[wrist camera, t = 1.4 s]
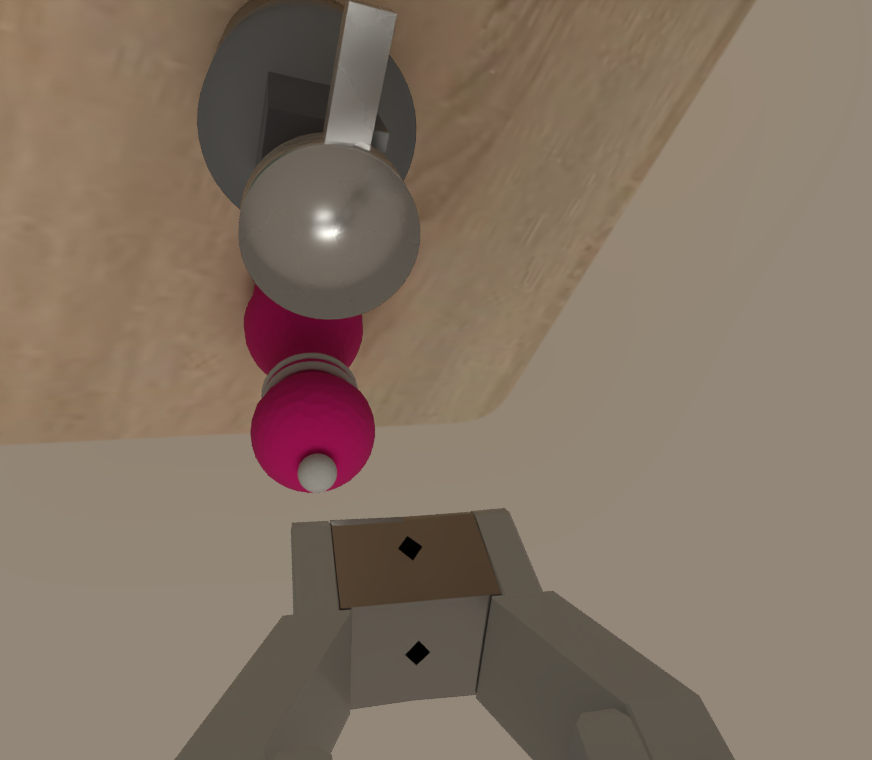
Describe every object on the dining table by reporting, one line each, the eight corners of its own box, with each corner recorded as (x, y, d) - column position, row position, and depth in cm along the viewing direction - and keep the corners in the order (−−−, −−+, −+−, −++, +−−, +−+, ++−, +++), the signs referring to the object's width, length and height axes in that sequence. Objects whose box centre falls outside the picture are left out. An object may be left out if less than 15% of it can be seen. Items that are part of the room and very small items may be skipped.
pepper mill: (278, 225, 48) (284, 391, 31) (375, 278, 51) (429, 454, 34) (226, 316, 50) (205, 516, 33) (321, 361, 53) (347, 564, 36)
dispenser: (226, -33, 40) (194, 2, 22) (391, 10, 43) (479, 73, 25) (208, 137, 44) (169, 281, 27) (360, 167, 47) (416, 317, 29)
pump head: (269, -37, 25) (270, -19, 18) (415, 3, 26) (472, 34, 19) (238, 209, 29) (228, 306, 21) (367, 232, 30) (398, 330, 23)
